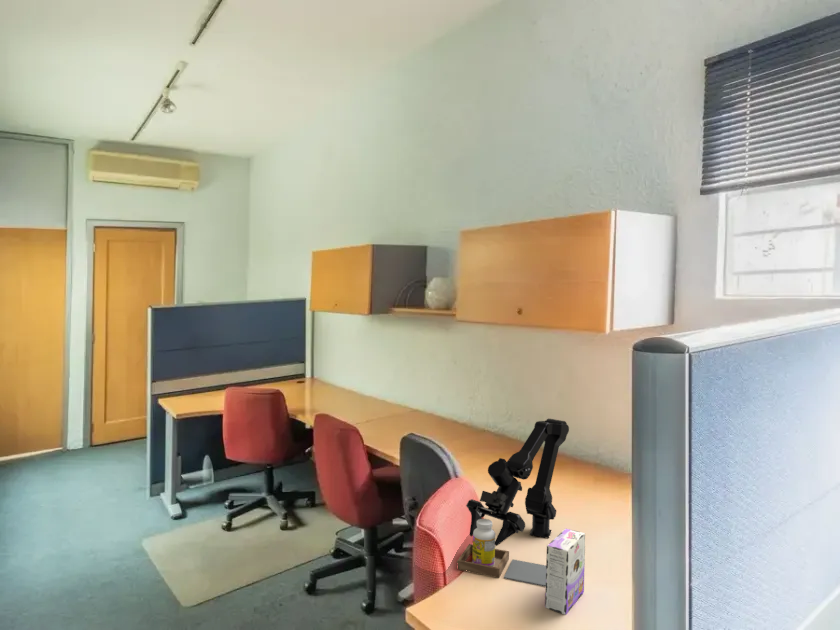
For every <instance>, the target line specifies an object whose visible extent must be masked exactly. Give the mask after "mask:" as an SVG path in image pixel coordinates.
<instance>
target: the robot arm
mask: <svg viewBox="0 0 840 630" xmlns="http://www.w3.org/2000/svg"><path fill="white" fill-rule="evenodd" d="M569 432H570V427H569V424H568V423H567V421H565V420H559V419H555V418H547V419H546V420H538V421H537V420H536V421H535V423H534V427H533V429H532V431H531V432H530V434H529V436H528V437H527V439H526V441H525V442H524V443H523V445H522V446H521V448H520V450H518V451H516V452H515V453H513V454H512V455H511V456H510V457H509V458H508V460H506V459H505V458H501V457H499V459H498V460H495V461H493V462H491V464H489V466H488V468H487V473H488V475H489V476H490V477H491V479H492V481H493V482H494V483H495V485H496V486H497V490H493V491H492V492H489V491H486V490H481V491H482V492H481V495H480V499H479V500H475V499H473V498H472V499H469V500H468V501H467V503H466V505H465V507H466V508H467V509H468V511H469V512H470V516H471V518H470V519H471V520H470V521H471V522H470V529H469V536H470V537H473V531H474V530H475V529H476V528H477V520H479V519H483V518H484V517H486V516H489V517H492V518H494V519H498V520H501V521H502V526H501V529H500V531H499V532H498V534H497V537H495V547H496V546H499V545H500V544H501V543H503V542H504V541H505V540H506V539H508V538H509V537H511V536H513V535H514V534H518V533H519V532H520V533H523V532H524V531H525V528H526V523H525V521H524V519H523V518H522V517H521V515H520V514H518V513H516V512H512V511H509V510H510V508H513V507H514V505H515V504H514V503H513V502H514V499H515V497H516V496H517V493H518V492H519V491H520V492H522V491H523V486H522V482H521V481H519V480H527V479H528V478H529V477H530V475H531V473H532V471H533V468H534V466H533V465H534V464H533V462H534V459H535V458H536V456H537V454H538V452H539V451H540V449H541V447H542V445H543V450H542V453H541V457H540V462H539V466H538V471H537V473H536V480H535V484H534V485H533V486H532V487H528V488H527V491H526V495H525V499H524V505H525V510H526V514H527V515H531V516H532V519H531V520H532V521H531V522H532V523H531V524H532V525H531V527H532V528H531V530H530V531H529V536H533V535H535V536H534V537H539V536H541V538H545V537H548V538H547V539H550V537H549V536H551V534H552V532H551V531H552V529H551V528H550V520H555V518H556V515H557V509H556V508H555V506H554V505H553V495H552V492H551V489H550V487H551V484H552V479H553V476H554V469H555V465H556V462H557V457H558V452H559V448H560V446H561V445H562V444H563V443H565V441H566V439H567V436H568V434H569ZM518 479H519V480H518ZM483 502H484V505H485V506H486V507H485V506H484V505H483ZM485 515H486V516H485Z"/></svg>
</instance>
